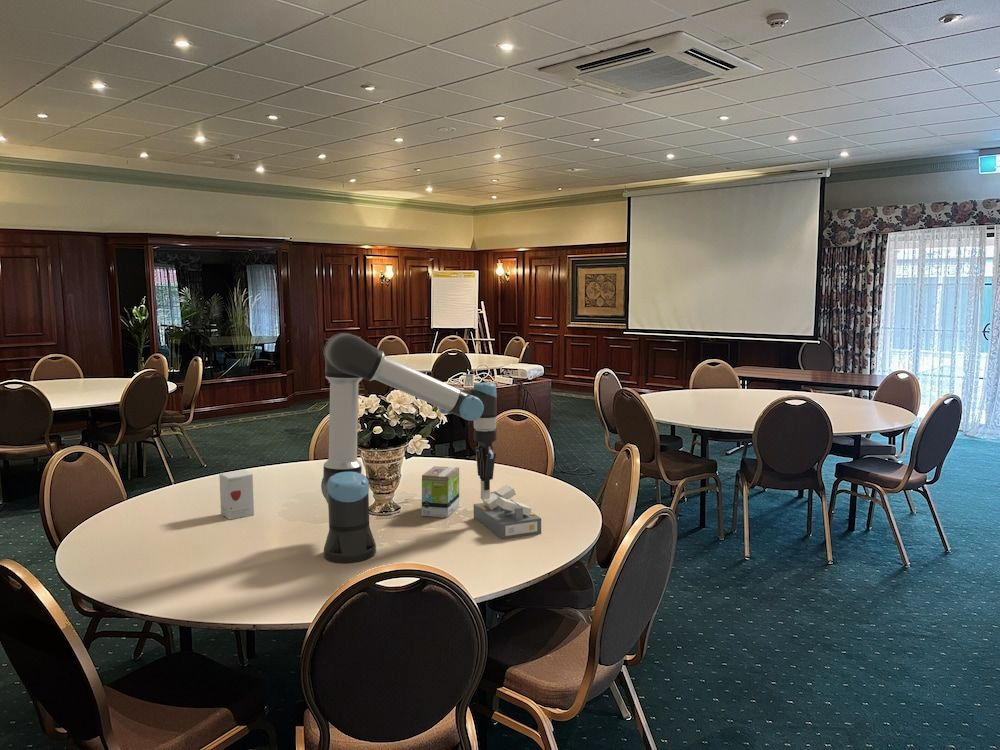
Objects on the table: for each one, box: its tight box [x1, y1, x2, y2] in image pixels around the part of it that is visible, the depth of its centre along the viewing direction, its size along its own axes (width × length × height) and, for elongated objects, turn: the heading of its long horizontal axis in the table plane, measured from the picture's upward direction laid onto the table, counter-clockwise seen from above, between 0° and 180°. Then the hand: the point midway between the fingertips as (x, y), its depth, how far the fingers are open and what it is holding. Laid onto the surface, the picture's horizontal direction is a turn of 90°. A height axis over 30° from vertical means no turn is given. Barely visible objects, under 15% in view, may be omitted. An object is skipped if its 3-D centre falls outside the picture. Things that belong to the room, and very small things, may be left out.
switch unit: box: [473, 491, 542, 540], centre depth 230 cm, size 14×24×9 cm, turn 23°
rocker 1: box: [481, 484, 517, 510], centre depth 235 cm, size 10×6×3 cm, turn 113°
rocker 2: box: [495, 497, 533, 516], centre depth 224 cm, size 10×6×3 cm, turn 113°
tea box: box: [421, 465, 460, 518], centre depth 247 cm, size 15×10×15 cm, turn 168°
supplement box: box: [218, 469, 255, 520], centre depth 245 cm, size 9×9×15 cm
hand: (485, 498), depth 233 cm, fingers closed
